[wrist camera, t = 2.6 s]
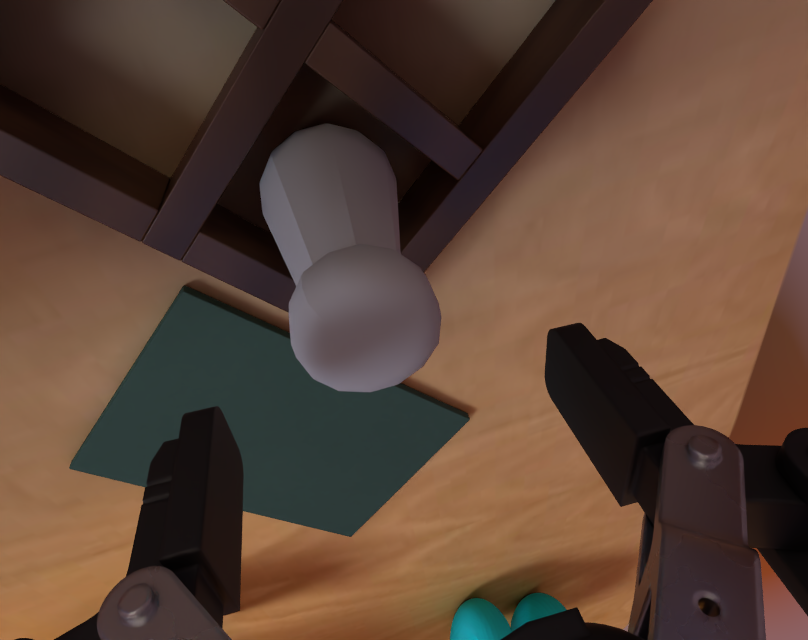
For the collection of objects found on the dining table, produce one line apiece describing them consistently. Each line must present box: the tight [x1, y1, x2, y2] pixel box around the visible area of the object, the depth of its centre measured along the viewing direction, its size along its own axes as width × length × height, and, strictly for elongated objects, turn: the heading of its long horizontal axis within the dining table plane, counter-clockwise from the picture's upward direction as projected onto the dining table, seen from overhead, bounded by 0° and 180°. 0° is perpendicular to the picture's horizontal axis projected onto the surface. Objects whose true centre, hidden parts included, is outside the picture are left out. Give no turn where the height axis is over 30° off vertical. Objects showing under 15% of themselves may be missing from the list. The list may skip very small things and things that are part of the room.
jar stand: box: [0, 0, 653, 312], centre depth 19 cm, size 20×20×4 cm
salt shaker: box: [259, 123, 441, 392], centre depth 19 cm, size 6×6×13 cm
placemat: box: [69, 285, 470, 537], centre depth 33 cm, size 20×14×1 cm
